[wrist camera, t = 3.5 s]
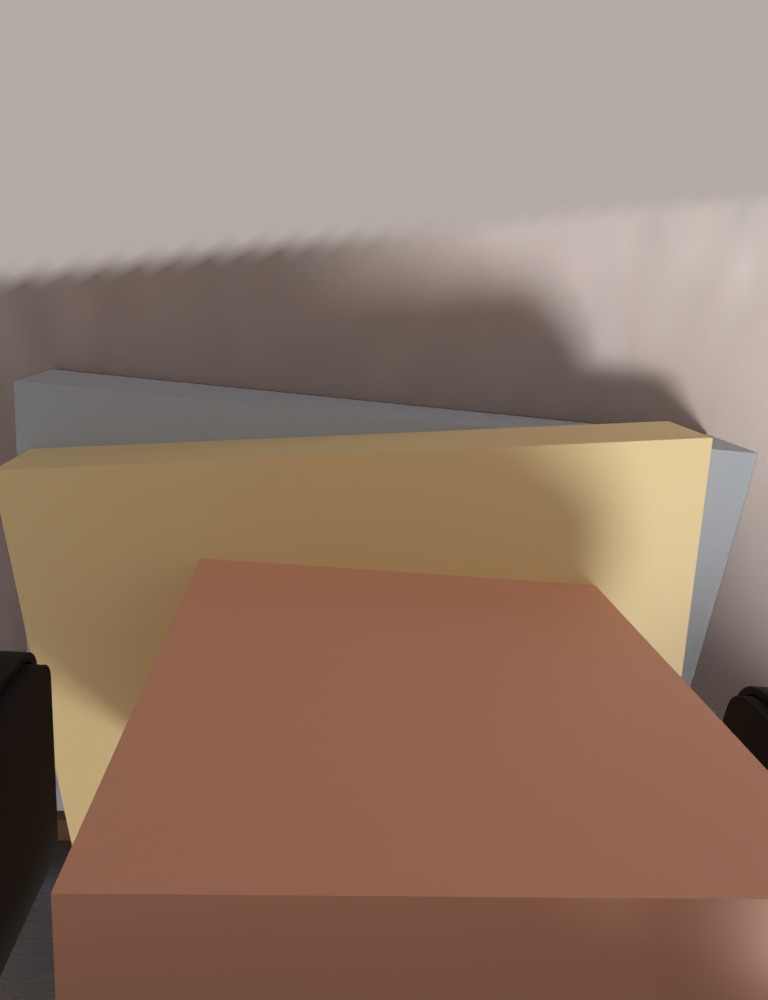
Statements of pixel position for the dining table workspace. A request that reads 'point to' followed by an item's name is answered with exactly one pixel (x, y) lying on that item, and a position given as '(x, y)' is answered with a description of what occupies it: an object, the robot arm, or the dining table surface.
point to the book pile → (329, 519)
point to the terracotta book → (414, 805)
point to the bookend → (35, 944)
